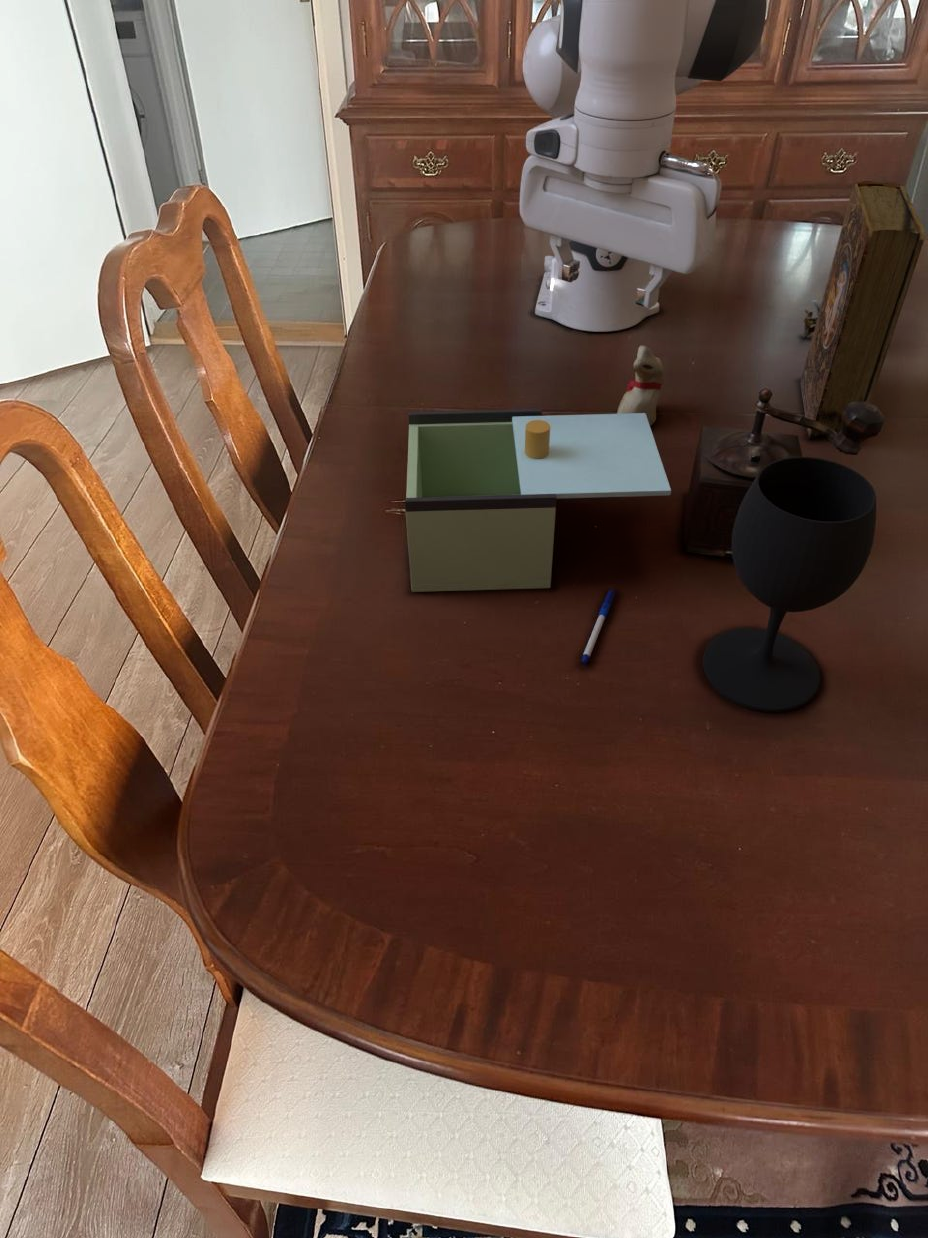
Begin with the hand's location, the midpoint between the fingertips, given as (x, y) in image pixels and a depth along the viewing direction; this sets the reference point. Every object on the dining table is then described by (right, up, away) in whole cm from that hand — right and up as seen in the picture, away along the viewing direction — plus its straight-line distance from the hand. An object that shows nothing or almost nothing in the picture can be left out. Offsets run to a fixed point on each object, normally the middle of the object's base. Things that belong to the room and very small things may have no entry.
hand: (606, 291), depth 90 cm
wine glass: (+13, -38, -9) cm, 41 cm away
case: (-13, -25, +6) cm, 28 cm away
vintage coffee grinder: (+17, -24, +6) cm, 30 cm away
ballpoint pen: (-1, -34, -4) cm, 34 cm away
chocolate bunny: (+8, -8, +23) cm, 26 cm away
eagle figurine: (+38, +6, +37) cm, 54 cm away
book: (+32, -6, +24) cm, 41 cm away
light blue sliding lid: (-2, -17, -1) cm, 17 cm away
